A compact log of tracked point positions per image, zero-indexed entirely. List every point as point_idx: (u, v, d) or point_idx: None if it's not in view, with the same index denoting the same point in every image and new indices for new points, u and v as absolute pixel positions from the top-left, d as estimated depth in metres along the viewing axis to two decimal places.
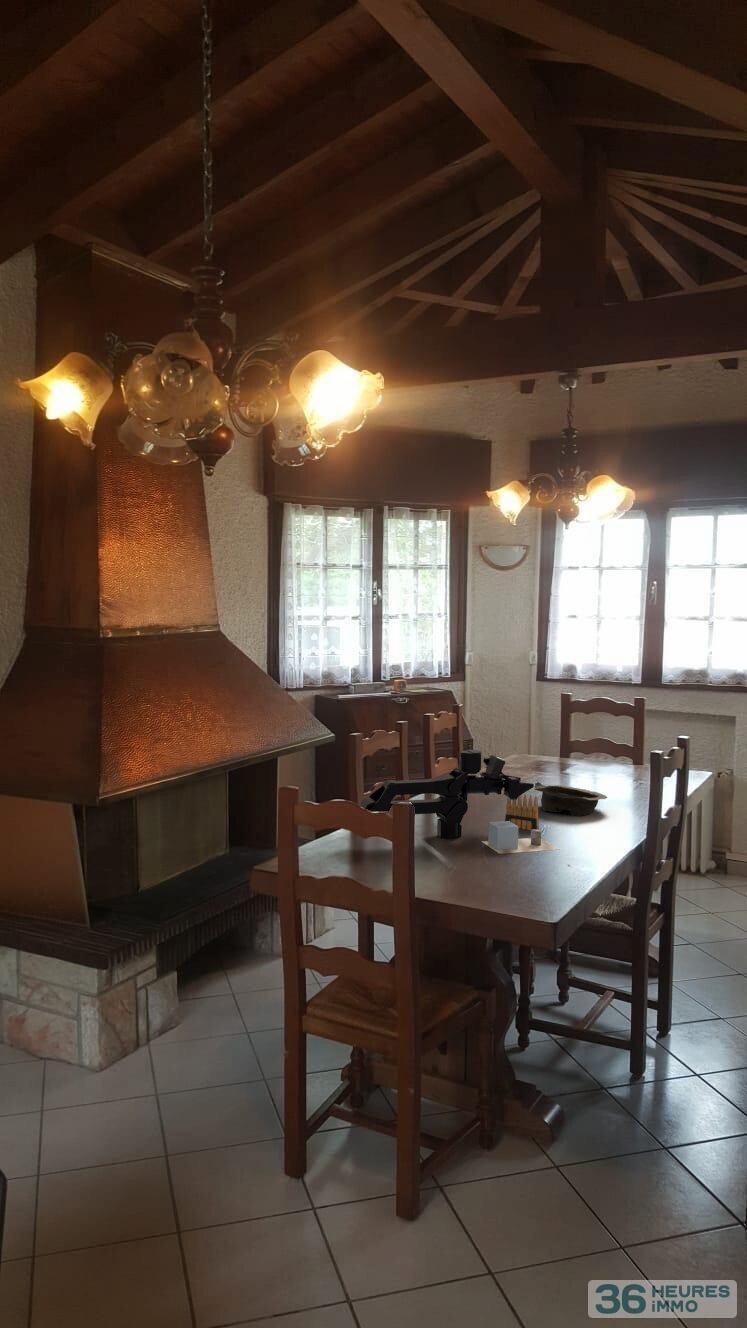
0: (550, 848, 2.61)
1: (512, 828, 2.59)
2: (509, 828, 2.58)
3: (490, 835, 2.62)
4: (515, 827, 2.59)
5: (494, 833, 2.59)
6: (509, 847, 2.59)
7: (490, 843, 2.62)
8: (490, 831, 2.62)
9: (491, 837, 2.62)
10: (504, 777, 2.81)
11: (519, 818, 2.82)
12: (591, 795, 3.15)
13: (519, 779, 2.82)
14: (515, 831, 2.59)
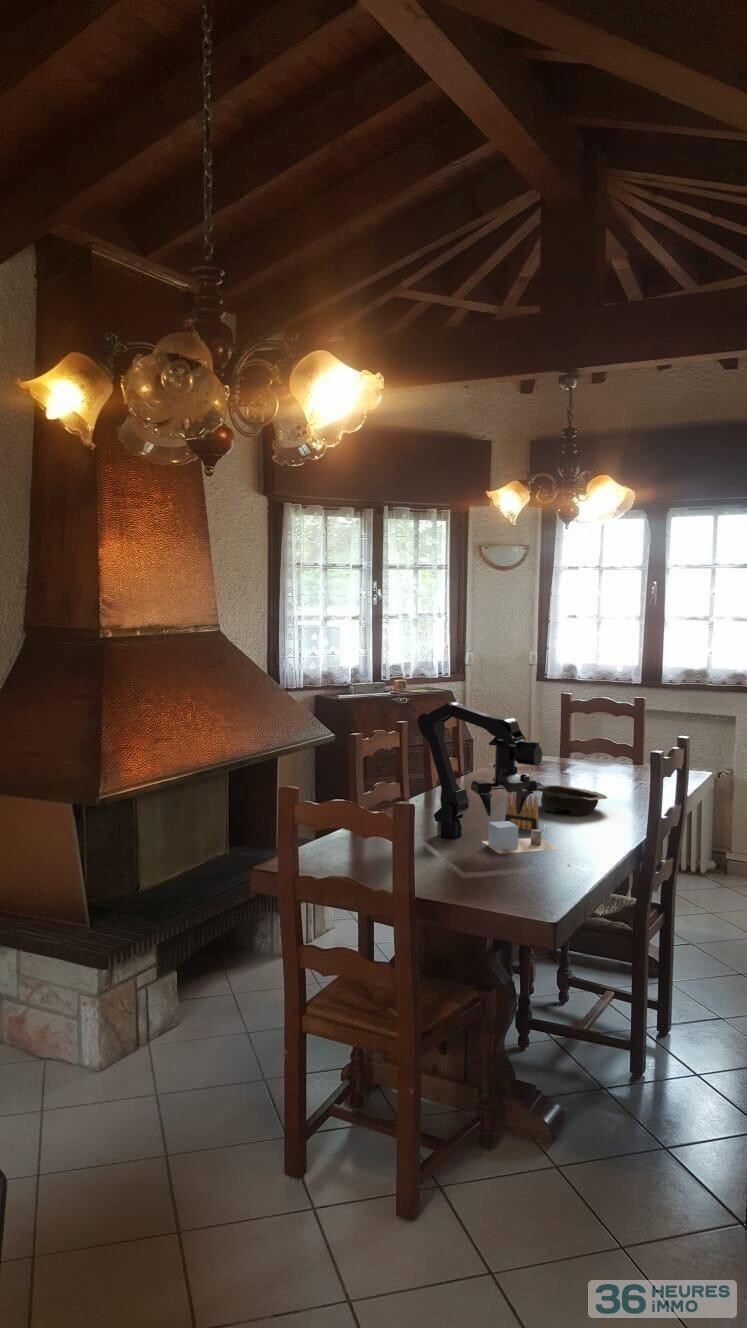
0: (550, 848, 2.61)
1: (512, 828, 2.59)
2: (509, 828, 2.58)
3: (490, 835, 2.62)
4: (515, 827, 2.59)
5: (494, 833, 2.59)
6: (509, 847, 2.59)
7: (490, 843, 2.62)
8: (490, 831, 2.62)
9: (491, 837, 2.62)
10: (520, 796, 2.61)
11: (519, 818, 2.82)
12: (591, 795, 3.15)
13: (517, 812, 2.62)
14: (515, 831, 2.59)
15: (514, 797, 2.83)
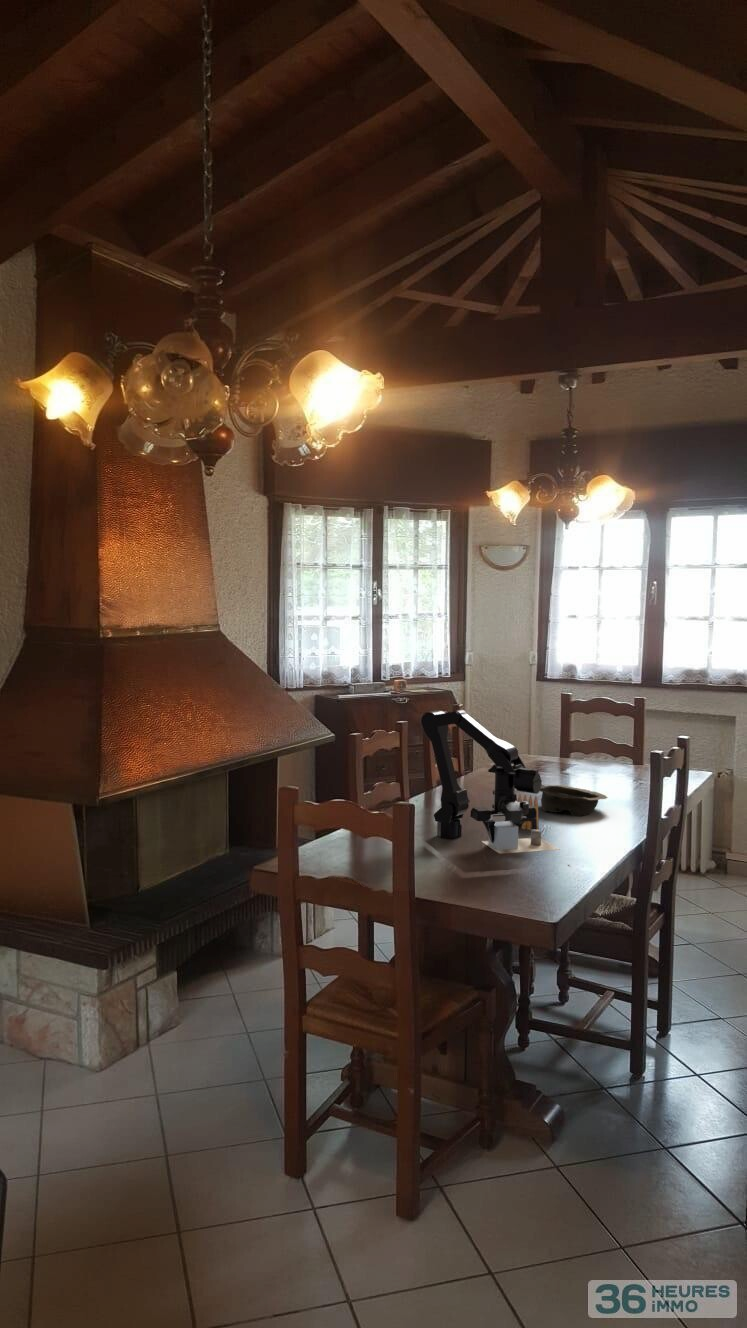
0: (550, 848, 2.61)
1: (512, 828, 2.59)
2: (509, 828, 2.58)
3: None
4: (515, 827, 2.59)
5: (494, 833, 2.59)
6: (509, 847, 2.59)
7: (490, 843, 2.62)
8: None
9: None
10: (516, 823, 2.62)
11: None
12: (591, 795, 3.15)
13: None
14: (515, 831, 2.59)
15: None
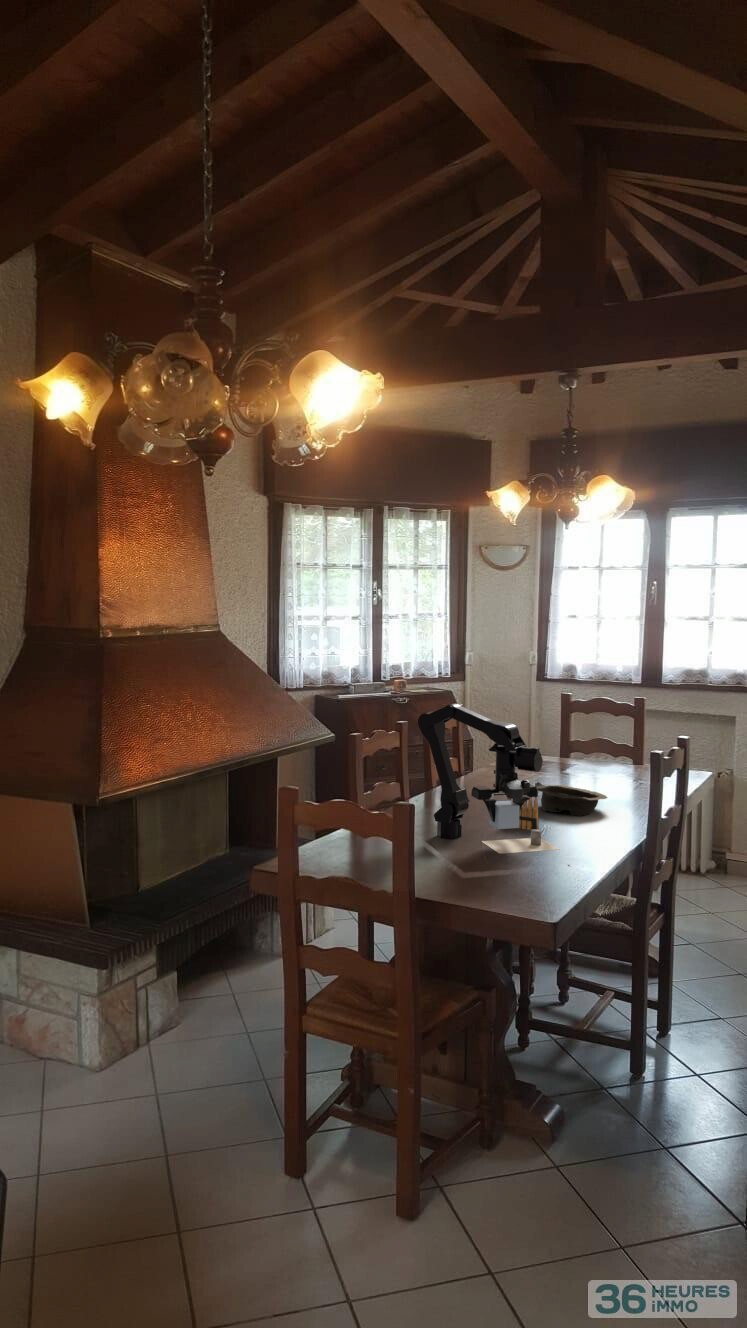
0: (550, 848, 2.61)
1: (513, 807, 2.58)
2: (510, 807, 2.58)
3: None
4: (516, 806, 2.58)
5: (495, 812, 2.59)
6: (510, 826, 2.58)
7: (491, 822, 2.62)
8: None
9: None
10: (517, 802, 2.61)
11: (519, 818, 2.82)
12: (591, 795, 3.15)
13: None
14: (516, 810, 2.58)
15: None
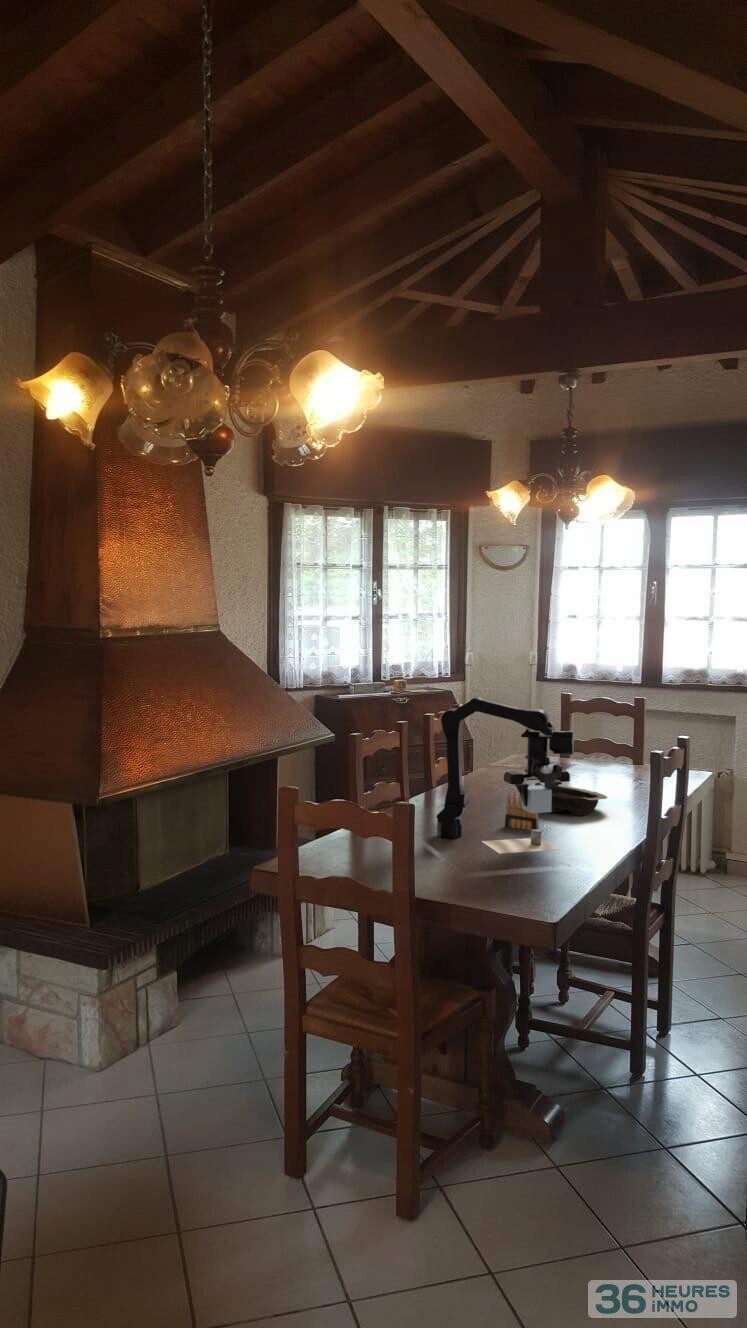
0: (550, 848, 2.61)
1: (545, 791, 2.60)
2: (542, 791, 2.60)
3: None
4: (548, 790, 2.61)
5: (528, 797, 2.61)
6: (543, 810, 2.61)
7: (523, 807, 2.64)
8: None
9: None
10: (549, 787, 2.63)
11: (519, 818, 2.82)
12: (591, 795, 3.15)
13: None
14: (548, 794, 2.61)
15: (514, 797, 2.83)
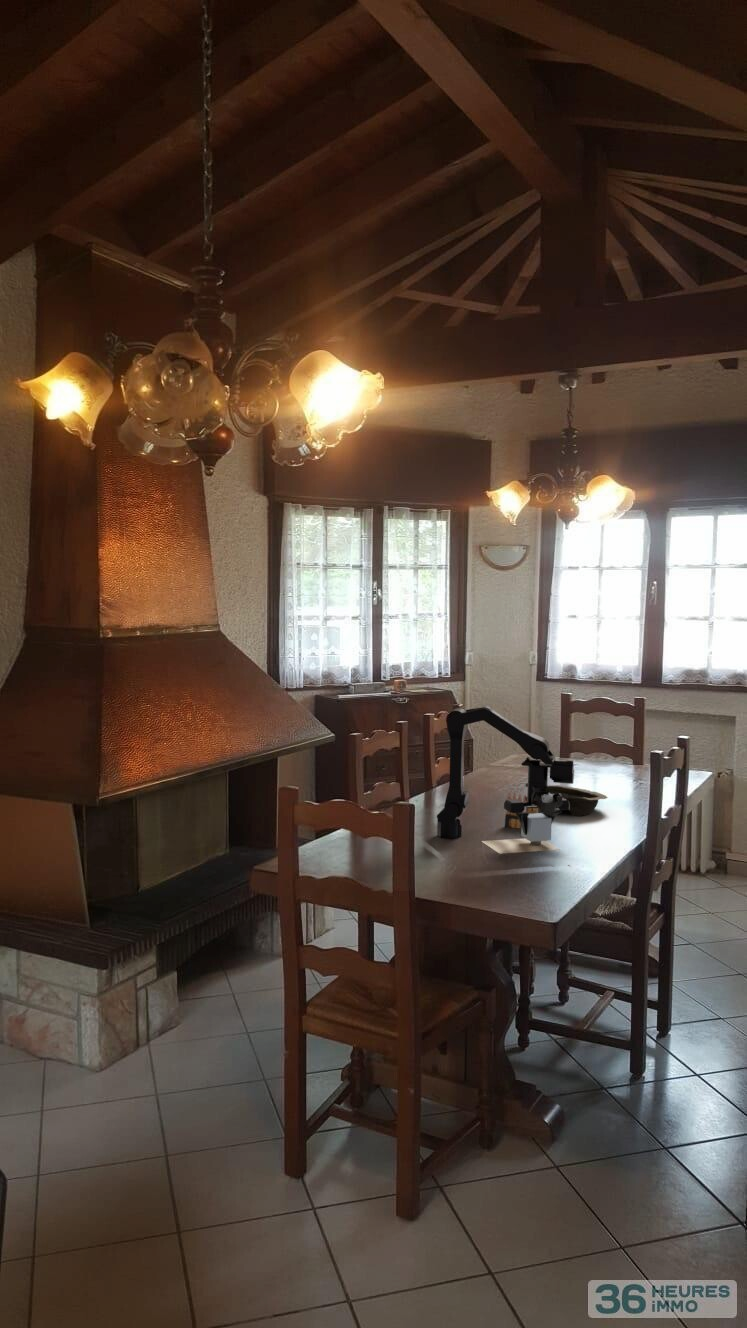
0: (550, 848, 2.61)
1: (545, 820, 2.61)
2: (542, 820, 2.61)
3: None
4: (548, 819, 2.62)
5: (527, 825, 2.62)
6: (542, 839, 2.61)
7: (523, 835, 2.65)
8: None
9: None
10: (549, 815, 2.64)
11: None
12: (591, 795, 3.15)
13: None
14: (548, 823, 2.62)
15: (514, 797, 2.83)
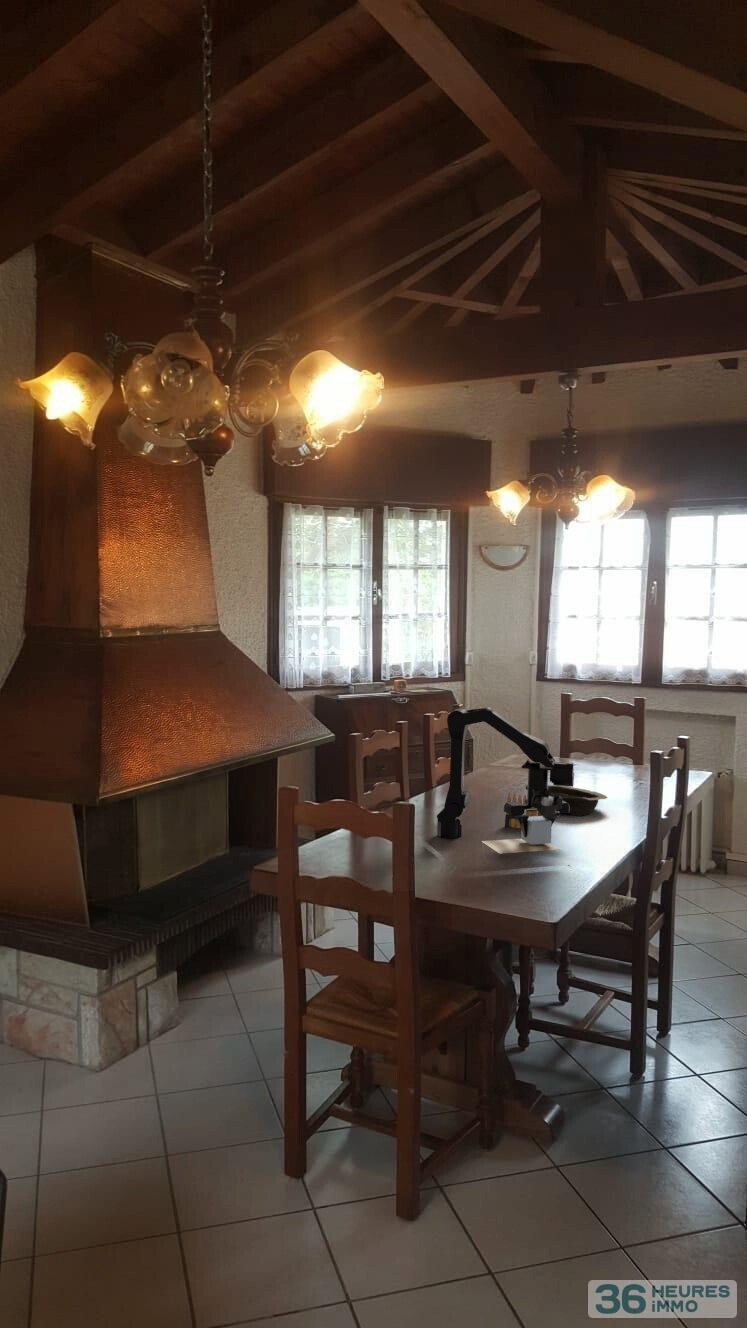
0: (550, 848, 2.61)
1: (545, 823, 2.61)
2: (542, 823, 2.61)
3: None
4: (548, 822, 2.62)
5: (528, 828, 2.62)
6: (542, 841, 2.62)
7: (523, 838, 2.65)
8: None
9: None
10: (549, 818, 2.64)
11: None
12: (591, 795, 3.15)
13: None
14: (548, 826, 2.62)
15: (514, 797, 2.83)
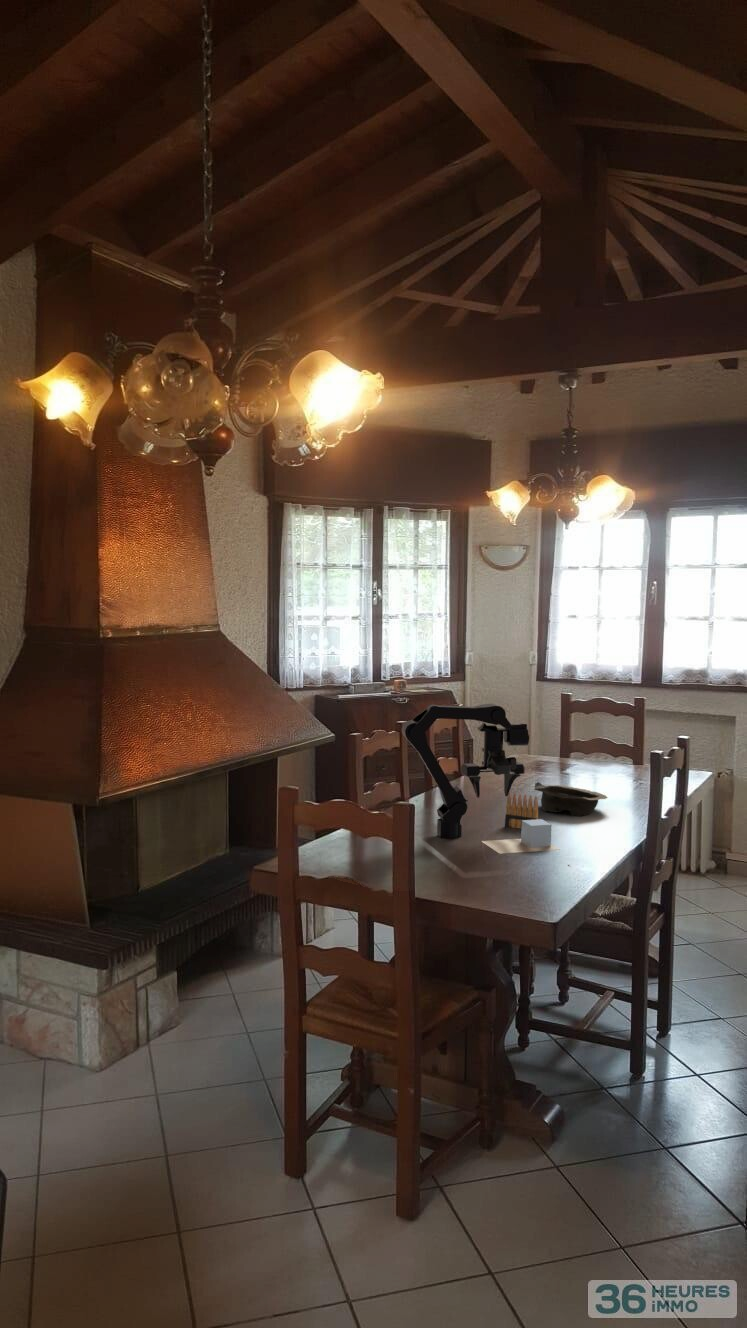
0: (550, 848, 2.61)
1: (545, 826, 2.61)
2: (542, 826, 2.61)
3: (523, 833, 2.65)
4: (548, 825, 2.62)
5: (527, 831, 2.62)
6: (542, 845, 2.62)
7: (523, 841, 2.65)
8: (523, 829, 2.65)
9: (524, 835, 2.65)
10: (508, 779, 2.73)
11: (519, 818, 2.82)
12: (591, 795, 3.15)
13: (505, 794, 2.74)
14: (548, 829, 2.62)
15: (514, 797, 2.83)
